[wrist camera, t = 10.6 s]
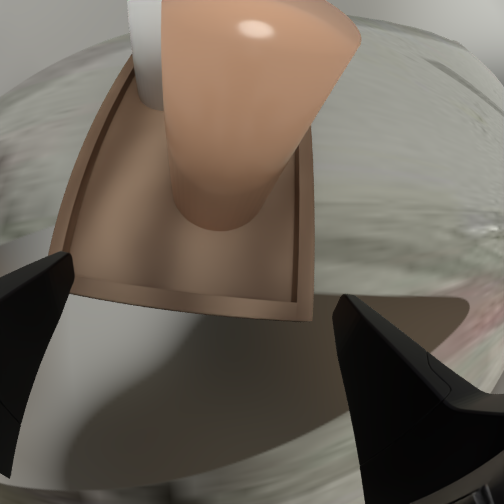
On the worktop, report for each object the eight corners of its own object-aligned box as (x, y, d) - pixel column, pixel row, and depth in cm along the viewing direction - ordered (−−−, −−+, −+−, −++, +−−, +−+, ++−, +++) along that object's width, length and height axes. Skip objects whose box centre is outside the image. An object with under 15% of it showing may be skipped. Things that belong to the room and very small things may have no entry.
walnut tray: (57, 291, 15) (42, 286, 13) (138, 61, 21) (136, 46, 19) (300, 321, 17) (312, 320, 15) (299, 80, 23) (305, 66, 21)
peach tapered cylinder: (194, 246, 16) (206, 66, 4) (159, 166, 17) (143, -15, 5) (281, 209, 18) (396, 60, 6) (240, 139, 19) (293, -21, 7)
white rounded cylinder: (128, 109, 18) (109, 0, 8) (150, 65, 19) (147, -28, 10) (203, 114, 19) (217, -3, 9) (215, 69, 20) (232, -27, 11)
